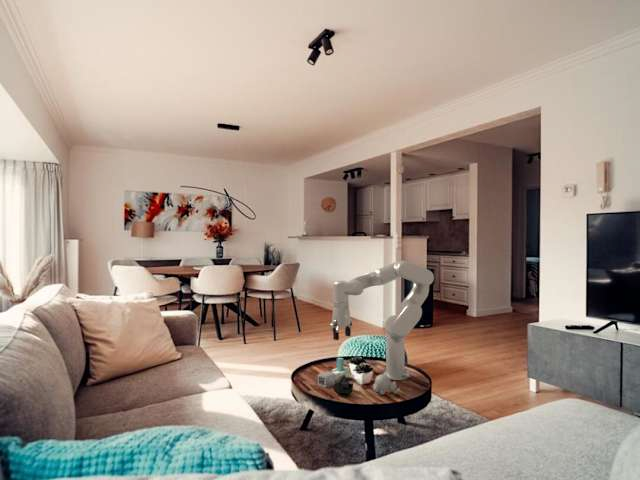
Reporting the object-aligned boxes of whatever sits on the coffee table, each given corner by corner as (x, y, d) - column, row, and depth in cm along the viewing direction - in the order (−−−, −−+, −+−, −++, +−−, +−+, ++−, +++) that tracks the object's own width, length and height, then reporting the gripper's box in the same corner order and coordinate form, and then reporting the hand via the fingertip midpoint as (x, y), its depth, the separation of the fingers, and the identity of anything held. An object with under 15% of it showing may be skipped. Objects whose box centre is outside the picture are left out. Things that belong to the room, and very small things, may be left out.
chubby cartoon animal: (396, 402, 177) (403, 385, 177) (371, 391, 178) (378, 374, 178) (395, 396, 184) (401, 379, 184) (371, 385, 186) (378, 369, 185)
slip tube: (344, 376, 201) (344, 358, 201) (328, 382, 192) (328, 363, 192) (339, 375, 203) (339, 357, 203) (324, 381, 194) (324, 362, 194)
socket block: (349, 378, 201) (349, 367, 201) (342, 381, 197) (342, 370, 197) (339, 375, 206) (339, 364, 206) (331, 378, 201) (331, 367, 201)
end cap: (339, 388, 188) (339, 374, 189) (353, 389, 186) (353, 375, 186) (333, 395, 179) (333, 381, 179) (348, 397, 177) (348, 382, 177)
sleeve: (334, 383, 194) (334, 373, 194) (325, 387, 189) (325, 376, 189) (327, 381, 197) (327, 370, 197) (317, 384, 192) (317, 374, 192)
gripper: (345, 302, 212) (346, 333, 211) (325, 306, 199) (325, 340, 199) (357, 303, 206) (357, 335, 206) (336, 308, 194) (337, 342, 194)
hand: (342, 337), depth 202 cm, fingers open, 9 cm apart
